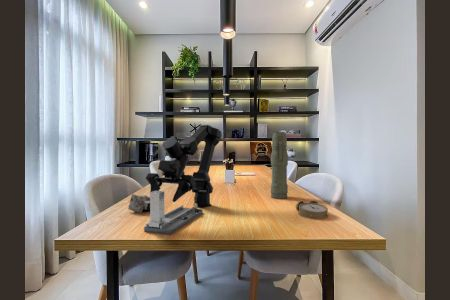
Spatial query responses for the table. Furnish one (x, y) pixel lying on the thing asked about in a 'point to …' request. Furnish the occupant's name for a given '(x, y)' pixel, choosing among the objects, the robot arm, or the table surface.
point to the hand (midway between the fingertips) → (161, 200)
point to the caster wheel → (139, 203)
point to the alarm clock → (312, 210)
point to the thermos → (279, 166)
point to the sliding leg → (157, 209)
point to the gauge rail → (175, 220)
